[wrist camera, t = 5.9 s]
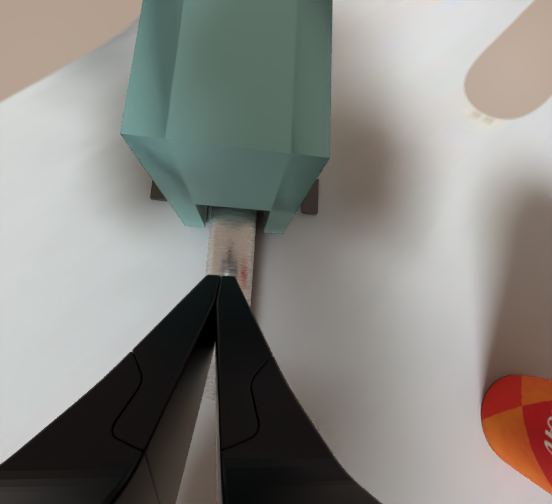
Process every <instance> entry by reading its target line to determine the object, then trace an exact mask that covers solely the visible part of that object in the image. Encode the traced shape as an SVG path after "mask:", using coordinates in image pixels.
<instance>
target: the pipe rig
mask: <svg viewBox="0 0 552 504" xmlns="http://www.w3.org/2000/svg"><path fill="white" fill-rule="evenodd" d="M318 181H319V179H316V181H315V182H314V184H313V185H312V187H311V189H310V190H309V192H308V193H307V195H306V197H305V198H304V200H303V201H302V213H304V214H315V215H317V213H318ZM150 198H151V199H152V200H163V201H167V199H166V198H165V196H164V195H163V194H162V192H161V191H160V189H159V188H158V187H157V185H156V184H155V182H154V181H152V188H151V195H150ZM256 217H257V210H253V209H242V208H231V207H220V206H212V214H211V225H210V235H209V245H208V255H207V265H206V275H209V274H210V275H220V276H221V277H222V276H223V275H225V276H234V277H235V278H236V279H237V282H238V284H239V286H240V288H241V290H242V292H243V294H244V296H245V298H246V300H247V302H248V304H249V306H251V291H252V276H253V261H254V246H255V231H256ZM202 398H207V399H216V392H215V347H214V352H213V356H212V360H211V364H210V368H209V372H208V376H207V380H206V384H205V388H204V392H203V396H202Z"/></svg>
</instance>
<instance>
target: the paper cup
mask: <svg viewBox="0 0 552 504" xmlns="http://www.w3.org/2000/svg"><path fill="white" fill-rule="evenodd" d="M481 420H482V427H483V431H484V434H485V437H486V439H487V441H488V443H489V445H490V447H491V448H492V449H493V451H494V452H495V453H496V454H497V455H498V456H499V457H500V458H501V459H502V460H503V461H505V462H506V463H507V464H509V465H510V466H511V467H513V468H514V469H515V470H517V471H518V472H520V473H521V474H522V475H524V476H525V477H527V478H528V479H530V480H531V481H532V482H534V483H535V484H537V485H538V486H540V487H541V488H543V489H544V490H545V491H547V492H548V493H550V494H551V495H552V380H548V379H543V378H537V377H531V376H524V375H508V376H505V377H502V378H500V379H498V380H497V381H496V382H495V383H493V384H492V386H491V387H490V388H489V390H488V391H487V393H486V395H485V397H484V400H483V404H482V411H481Z"/></svg>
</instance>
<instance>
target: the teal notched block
mask: <svg viewBox="0 0 552 504" xmlns="http://www.w3.org/2000/svg"><path fill="white" fill-rule="evenodd" d="M331 53H332V0H143V2H142V8H141V14H140V20H139V26H138V31H137V37H136V43H135V49H134V55H133V61H132V67H131V73H130V79H129V85H128V90H127V96H126V102H125V108H124V114H123V120H122V126H121V132H120V134H121V135H122V137H123V138H124V140H125V141H126V143H127V144H128V145H129V147H130V148H131V150H132V151H133V152H134V154H135V155H136V157H137V158H138V160H139V161H140V162H141V164H142V165H143V167H144V168H145V170H146V171H147V172H148V174H149V175H150V177H151V178H152V179H153V181H154V182H155V184H156V185H157V187H158V188H159V189H160V191H161V192H162V194H163V195H164V196H165V198H166V199H167V201H168V202H169V204H170V205H171V206H172V208H173V209H174V211H175V212H176V213H177V215H178V216H179V218H180V219H181V221H182V222H183V223H184V225H185V226H193V227H205V225H206V215H207V205H209V206H220V207H231V208H242V209H253V210H264V211H265V215H264V231H263V232H266V233H278V234H282V233H283V232H284V230H285V229H286V227H287V225H288V224H289V222H290V221H291V219H292V217H293V216H294V214H295V213H296V211H297V209H298V208H299V206H300V205H301V203H302V201H303V200H304V198H305V197H306V195H307V193H308V192H309V190H310V189H311V187H312V185H313V184H314V182H315V181H316V179H317V177H318V176H319V174H320V173H321V171H322V169H323V168H324V166H325V165H326V163H327V161H328V160H329V158H330V109H331Z"/></svg>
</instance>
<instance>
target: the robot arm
mask: <svg viewBox="0 0 552 504" xmlns="http://www.w3.org/2000/svg"><path fill="white" fill-rule="evenodd" d="M214 347H215V392H216V492H217V504H382V503H381V502H379V501H378V500H377V499H376V498H375V497H373V496H372V495H371V494H370V493H369V492H368V491H366V490H365V489H364V488H363V487H362V486H360V485H359V484H358V483H357V482H356V481H355V480H354V479H353V478H352V477H351V476H350V475H349V474H348V473H347V472H346V471H345V469H344V468H343V467H342V466H341V464H340V463H339V462H338V461H337V459H336V458H335V456H334V455H333V453H332V452H331V451H330V449H329V448H328V446H327V444H326V443H325V441H324V440H323V438H322V437H321V435H320V434H319V432H318V431H317V429H316V428H315V426H314V425H313V423H312V422H311V420H310V418H309V417H308V415H307V414H306V412H305V411H304V409H303V408H302V406H301V405H300V403H299V402H298V400H297V398H296V397H295V395H294V393H293V392H292V390H291V389H290V387H289V385H288V383H287V382H286V380H285V378H284V376H283V374H282V372H281V370H280V368H279V366H278V364H277V362H276V360H275V358H274V357H273V354H272V352H271V350H270V348H269V346H268V344H267V342H266V340H265V338H264V335H263V333H262V331H261V329H260V327H259V325H258V323H257V321H256V319H255V317H254V315H253V313H252V311H251V309H250V306H249V304H248V302H247V300H246V298H245V296H244V294H243V292H242V290H241V288H240V286H239V284H238V282H237V279H236V278H235V277H234V276H225V275H223V276H222V277H221V276H220V275H210V274H209V275H206V276H205V277H204V278H203V279H202V280H201V281H200V282H199V283H198V284H197V285H196V286H195V287H194V288H193V289H192V290H191V291H190V292H189V293H188V294H187V295H186V296H185V297H184V298H183V299H182V300H181V301H180V302H179V303H178V304H177V305H176V306H175V307H174V308H173V309H172V311H171V312H170V313H169V314H168V315H167V316H166V317H165V318H164V319H163V320H162V321H161V322H160V323H159V324H158V325H157V326H156V327H155V328H154V329H153V330H152V331H151V332H150V333H149V334H148V335H147V336H146V337H145V338H144V339H143V340H142V341H141V342H140V343H139V344H138V345H137V346H136V347H135V348H134V349H133V350H132V352H129V353H128V355H127V356H126V357H125V358H124V359H123V360H122V361H121V362H120V363H119V364H117V365H116V366H115V367H114V368H113V369H112V370H111V371H110V372H109V373H108V374H107V375H106V376H105V377H104V378H103V379H102V380H101V381H100V382H98V383H97V384H96V385H95V386H94V387H93V388H92V389H90V390H89V391H88V392H87V393H86V394H85V395H83V396H82V397H81V398H80V399H79V400H78V401H77V402H75V403H74V404H73V405H72V406H71V407H69V408H68V409H67V410H66V411H65V412H63V413H62V414H61V415H60V416H59V417H57V418H56V419H55V420H54V421H53V422H51V423H50V424H49V425H48V426H47V427H45V428H44V429H43V430H42V431H41V432H40V433H38V434H37V435H36V436H35V437H34V438H32V439H31V440H30V441H29V442H28V443H26V444H25V445H24V446H23V447H22V448H20V449H19V450H18V451H17V452H16V453H14V454H13V455H12V456H11V457H9V458H8V459H7V460H6V461H4V462H3V463H1V464H0V504H175V503H176V499H177V495H178V491H179V487H180V483H181V479H182V475H183V471H184V467H185V463H186V459H187V456H188V452H189V448H190V444H191V440H192V436H193V432H194V428H195V424H196V420H197V416H198V412H199V408H200V404H201V400H202V396H203V392H204V388H205V384H206V380H207V376H208V372H209V368H210V364H211V360H212V356H213V352H214Z"/></svg>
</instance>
